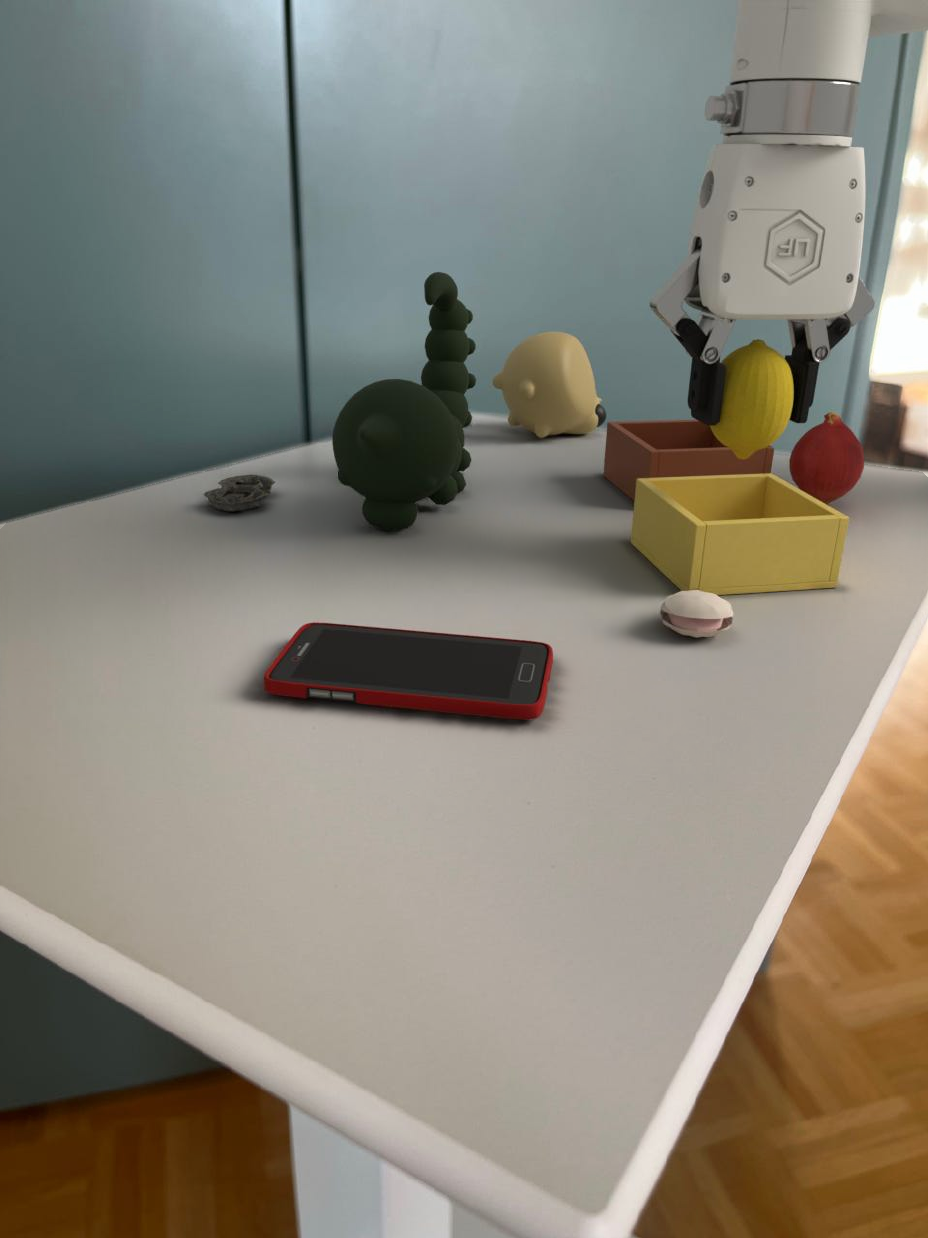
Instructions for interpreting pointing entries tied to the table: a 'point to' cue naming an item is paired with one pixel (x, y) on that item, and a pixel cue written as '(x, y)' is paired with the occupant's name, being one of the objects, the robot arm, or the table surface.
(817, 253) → the robot arm
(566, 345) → the toy pig
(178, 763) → the table surface
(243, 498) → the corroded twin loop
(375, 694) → the cell phone
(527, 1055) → the table surface
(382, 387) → the toy figurine
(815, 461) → the onion
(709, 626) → the macaroon
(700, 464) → the brown bin
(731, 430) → the lemon
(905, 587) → the table surface
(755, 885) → the table surface
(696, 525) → the yellow bin
